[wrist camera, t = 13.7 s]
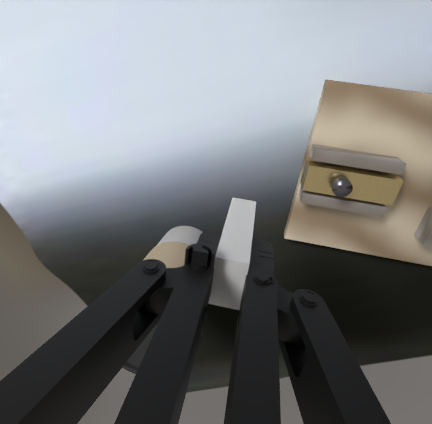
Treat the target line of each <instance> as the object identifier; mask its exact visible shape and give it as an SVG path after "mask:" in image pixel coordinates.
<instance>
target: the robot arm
mask: <svg viewBox="0 0 432 424" xmlns="http://www.w3.org/2000/svg"><path fill="white" fill-rule="evenodd" d="M255 207H256V202H255V201H249V200H244V199H238V198H232V201H231V205H230V208H229V212H228V215H227V218H226V222H225V225H224V229H223V232H222V233H218V232H213V231H208V230H206V231H204V232H203V233H201V234H200V236H199V239H198V241H197V243H196V244H192V245H189V246H188V247H187V248H186V251H185V263H184V266H181V267H178V268H166V265H165V264H164V263H163V262H162V261H160V260H156V259H146V260H143V261H141V262H139V263H138V264H137V265H136V266H134V267H133V268H132V269H131V270H130V271H129V272H127V273H126V274H125V275H124V276H123V277H121V278H120V279H119V280H118V281H117V282H116V283H114V284H113V285H112V286H111V287H110V288H109V289H107V290H106V291H105V292H104V293H103V294H102V295H100V296H99V297H98V298H97V299H96V300H95V301H93V302H92V303H91V304H90V305H89V306H88V307H86V308H85V309H84V310H83V311H82V312H81V313H79V314H78V315H77V316H76V317H75V318H74V319H73V320H71V321H70V322H69V323H68V324H67V325H65V326H64V327H63V328H62V329H61V330H60V331H59V332H57V333H56V334H55V335H54V336H53V337H51V338H50V339H49V340H48V341H47V342H46V343H44V344H43V345H42V346H41V347H40V348H38V349H37V350H36V351H35V352H34V353H33V354H31V355H30V356H29V357H28V358H27V359H26V360H24V361H23V362H22V363H21V364H20V365H19V366H17V367H16V368H15V369H14V370H13V371H12V372H11V373H9V374H8V375H7V376H6V377H5V378H3V379H2V380H1V381H0V424H77V423H78V422H79V421H80V419H81V418H82V417H83V416H84V414H85V413H86V412H87V411H88V409H89V408H90V407H91V406H92V404H93V403H94V402H95V401H96V399H97V398H98V397H99V396H100V394H101V393H102V392H103V390H104V389H105V388H106V387H107V386H108V384H109V383H110V382H111V381H112V379H113V378H114V377H115V375H116V374H117V373H118V372H119V371H120V369H121V368H122V367H123V365H124V364H125V363H126V362H127V360H128V359H129V358H130V357H131V355H132V354H133V353H134V352H135V350H136V349H137V348H138V347H139V345H140V344H141V343H142V342H143V340H144V339H145V338H146V337H147V335H148V334H149V333H150V332H151V330H152V329H153V328H154V327H155V325H156V324H157V323H158V322H159V323H158V325H157V328H156V330H155V332H154V334H153V337H152V339H151V341H150V344H149V346H148V348H147V350H146V353H145V355H144V357H143V360H142V362H141V364H140V366H139V369H138V371H137V373H136V376H135V378H134V380H133V382H132V385H131V387H130V389H129V392H128V394H127V396H126V398H125V401H124V403H123V405H122V407H121V410H120V412H119V414H118V417H117V419H116V421H115V423H114V424H178V422H179V419H180V415H181V411H182V407H183V403H184V399H185V395H186V391H187V387H188V384H189V380H190V376H191V372H192V368H193V364H194V360H195V356H196V352H197V349H198V345H199V341H200V337H201V333H202V329H203V325H204V321H205V318H206V314H207V308H208V304H213V305H217V306H222V307H226V308H231V309H236V310H240V311H239V315H238V320H237V325H236V329H235V331H236V336H235V343H234V351H233V358H232V366H231V373H230V381H229V389H228V396H227V404H226V411H225V419H224V424H281V419H280V383H279V348H278V339H279V344H280V347H281V350H282V353H283V357H284V360H285V363H286V367H287V370H288V373H289V376H290V380H291V383H292V386H293V390H294V393H295V396H296V399H297V403H298V406H299V409H300V412H301V416H302V419H303V423H304V424H391V423H390V421H389V419H388V417H387V416H386V414H385V412H384V410H383V408H382V407H381V405H380V403H379V401H378V399H377V397H376V395H375V394H374V392H373V390H372V388H371V386H370V384H369V382H368V381H367V379H366V377H365V375H364V373H363V372H362V370H361V368H360V366H359V364H358V362H357V360H356V359H355V357H354V355H353V353H352V351H351V349H350V348H349V346H348V344H347V342H346V340H345V338H344V337H343V335H342V333H341V331H340V329H339V327H338V325H337V324H336V322H335V320H334V318H333V316H332V314H331V313H330V311H329V309H328V307H327V305H326V303H325V302H324V300H323V299H322V298H321V296H319V295H318V294H317V293H315V292H313V291H311V290H307V289H298V290H296V291H295V292H294V294H293V293H291V292H289V291H287V290H285V289H283V288H281V287H280V286H279V285H278V284H277V282H276V279H275V278H274V263H273V246H272V245H271V243H270V242H269V241H264V240H258V239H253V238H252V236H253V226H254V217H255ZM208 302H209V303H208ZM159 320H160V321H159Z"/></svg>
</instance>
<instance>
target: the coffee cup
mask: <svg viewBox="0 0 432 424" xmlns="http://www.w3.org/2000/svg"><path fill="white" fill-rule="evenodd" d="M201 233H203V232H202V231H200V230H199V229H197V228H194V227H190V226H179V227H175V228H173V229H171V230H170V231H168V232H167V233H166V235H165V236H164V237H163V238H162V240H161V241H160V242H159V243H158V244H157V246H156V247H154V248H153V249H152V250H151V251H150V253H149V254H148V255H147V256H146V257H145V258H144V260H146V259H156V260H160V261H162V262H163V263H164V264H165V265H166V268H178V267H181V266H184V263H185V251H186V248H187V247H188V246H189V245H192V244H196V243H197V241H198V239H199V236H200V234H201ZM159 321H160V320H159ZM158 323H159V322H158ZM158 323H157V324H156V325H155V327H154V328H153V329H152V330H151V332H150V333H149V334H148V335H147V337H146V338H145V339H144V340H143V342H142V343H141V344H140V345H139V347H138V348H137V349H136V350H135V352H134V353H133V354H132V355H131V357H130V358H129V359H128V360H127V362H126V363H125V364H124V365H123V367H122V368H124V369H126V370H128V371H130V372H132V373H134V374H136V373H137V371H138V369H139V366H140V364H141V362H142V360H143V357H144V355H145V353H146V350H147V348H148V346H149V344H150V341H151V339H152V337H153V334H154V332H155V330H156V328H157V325H158ZM201 340H202V336H201V337H200V341H199V345H198V349H197V351H198V350H199V348H200V345H201ZM196 353H197V352H196Z"/></svg>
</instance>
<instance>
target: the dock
mask: <svg viewBox="0 0 432 424" xmlns="http://www.w3.org/2000/svg"><path fill="white" fill-rule="evenodd" d="M306 159H312V160H313V161H319V162H325V163H331V164H337V165H344V166H350V167H356V168H362V169H368V170H375V171H381V172H387V173H393V174H396V175H398V176H399V177H400V178H401V179H402V180H403V184H402V186H401V188H400V190H399V192H398V194H397V197H396V199H395V201H394V203H393V205H392V206H391V205H385V204H380V203H374V202H368V201H362V200H356V199H351V198H345V197H337V196H333V195H327V194H322V193H316V192H310V191H304V190H302V187H301V183H300V181H301V177H302V173H303V170H304V166H305V162H306ZM284 238H285V239H290V240H296V241H301V242H306V243H312V244H317V245H322V246H327V247H333V248H338V249H343V250H349V251H354V252H359V253H364V254H370V255H375V256H380V257H385V258H391V259H396V260H401V261H407V262H412V263H417V264H422V265H428V266H432V94H429V93H421V92H414V91H406V90H399V89H391V88H384V87H376V86H369V85H362V84H354V83H347V82H339V81H332V80H325V83H324V87H323V91H322V94H321V98H320V102H319V105H318V109H317V113H316V116H315V120H314V124H313V128H312V131H311V135H310V139H309V142H308V146H307V150H306V153H305V157H304V161H303V165H302V168H301V172H300V176H299V179H298V183H297V187H296V190H295V194H294V198H293V202H292V205H291V209H290V213H289V216H288V220H287V224H286V227H285V231H284Z"/></svg>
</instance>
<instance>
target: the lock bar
mask: <svg viewBox="0 0 432 424" xmlns="http://www.w3.org/2000/svg"><path fill="white" fill-rule="evenodd" d="M300 183H301V187H302V190H304V191H310V192H316V193H322V194H327V195H333V196H337V197H345V198H351V199H356V200H362V201H368V202H374V203H380V204H385V205H391V206H392V205H393V203H394V201H395V199H396V197H397V194H398V192H399V190H400V188H401V186H402V184H403V180H402V179H401V178H400V177H399V176H398V175H396V174H393V173H387V172H381V171H375V170H368V169H362V168H356V167H350V166H344V165H337V164H331V163H325V162H319V161H313V160H312V159H306V162H305V166H304V170H303V173H302V177H301V181H300Z"/></svg>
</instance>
